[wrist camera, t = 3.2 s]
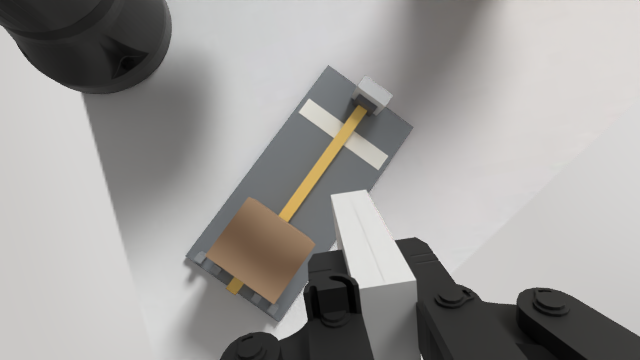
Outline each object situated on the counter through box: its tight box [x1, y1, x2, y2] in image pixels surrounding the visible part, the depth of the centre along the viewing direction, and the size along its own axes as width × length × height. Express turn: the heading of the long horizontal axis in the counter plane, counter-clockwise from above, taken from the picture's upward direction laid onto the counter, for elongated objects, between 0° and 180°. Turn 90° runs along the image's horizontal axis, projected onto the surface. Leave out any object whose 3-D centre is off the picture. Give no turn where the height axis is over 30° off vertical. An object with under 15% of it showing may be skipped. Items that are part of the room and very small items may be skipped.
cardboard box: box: [205, 197, 316, 304], centre depth 34 cm, size 6×7×8 cm
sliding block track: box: [186, 65, 413, 322], centre depth 37 cm, size 26×12×4 cm, turn 145°
